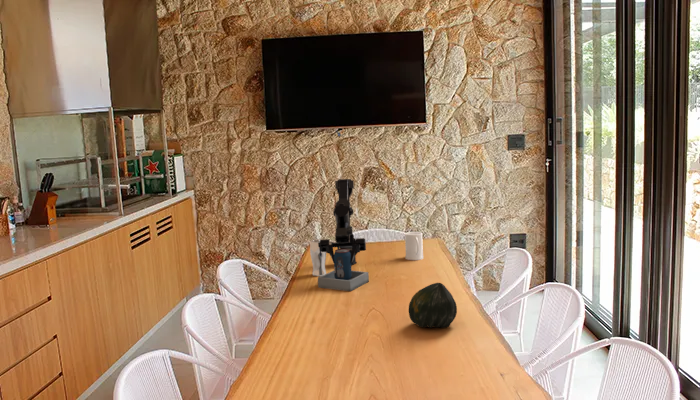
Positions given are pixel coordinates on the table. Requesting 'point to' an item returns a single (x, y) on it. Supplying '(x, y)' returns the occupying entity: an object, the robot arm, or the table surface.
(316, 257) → the beer glass
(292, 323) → the table surface
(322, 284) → the open box
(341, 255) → the soda can
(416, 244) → the mug
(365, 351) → the table surface
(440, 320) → the squash
